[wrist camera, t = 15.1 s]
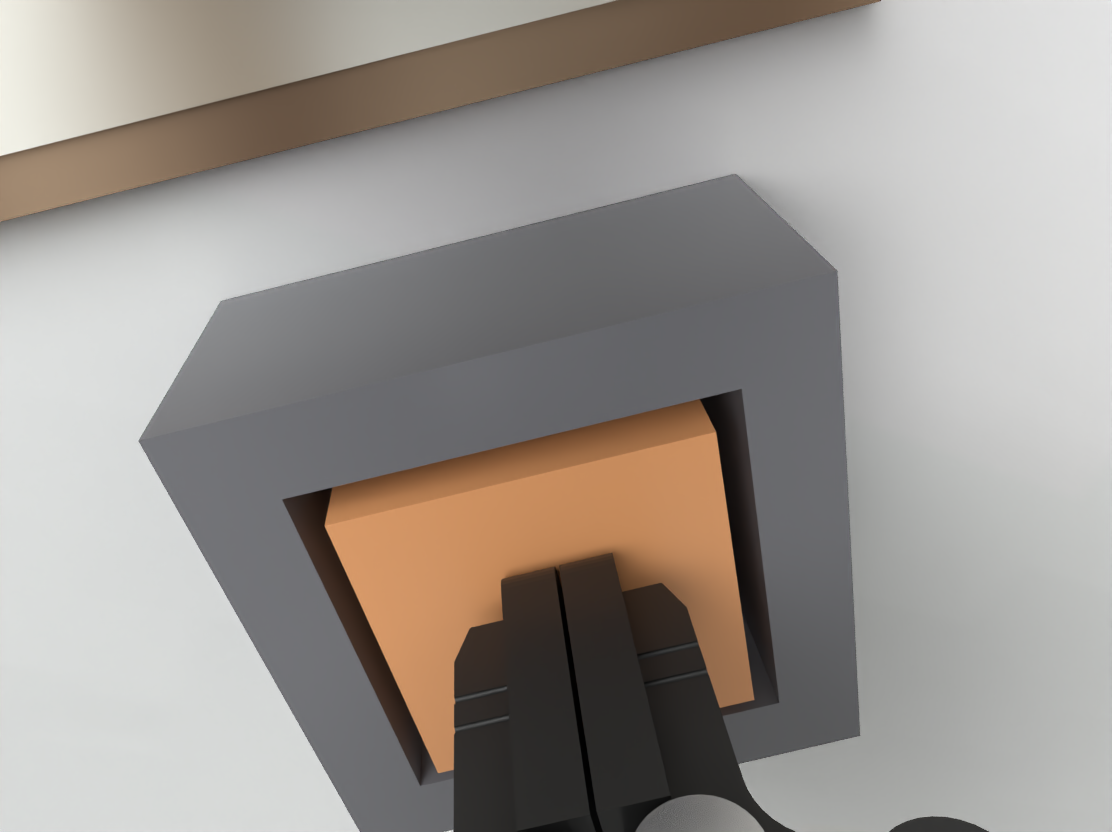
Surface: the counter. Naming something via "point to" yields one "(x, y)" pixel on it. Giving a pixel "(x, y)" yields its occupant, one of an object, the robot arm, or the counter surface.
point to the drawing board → (295, 73)
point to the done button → (540, 544)
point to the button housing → (515, 416)
